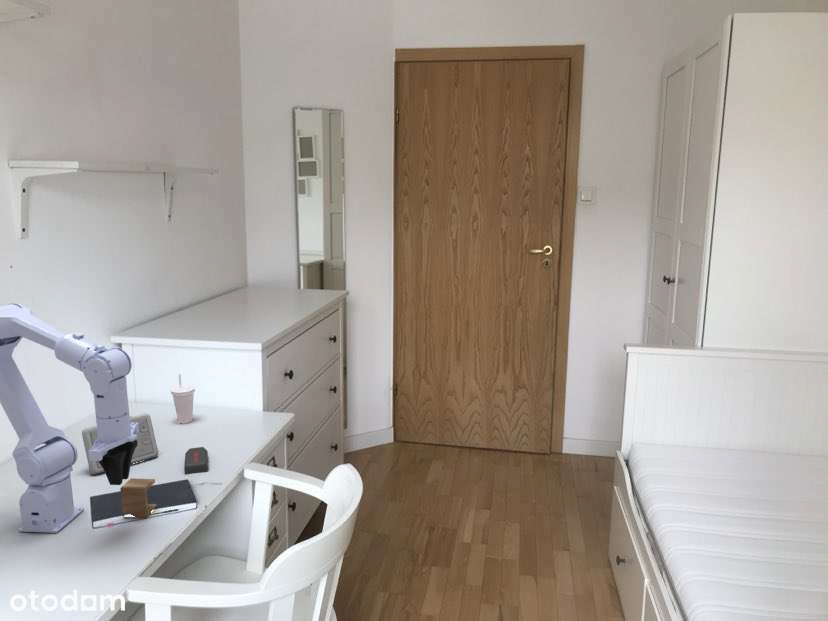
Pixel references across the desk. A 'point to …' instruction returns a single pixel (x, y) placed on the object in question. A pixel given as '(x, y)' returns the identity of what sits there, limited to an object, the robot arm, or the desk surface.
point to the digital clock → (144, 439)
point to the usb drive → (196, 460)
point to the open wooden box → (136, 497)
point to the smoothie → (183, 402)
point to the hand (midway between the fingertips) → (119, 481)
